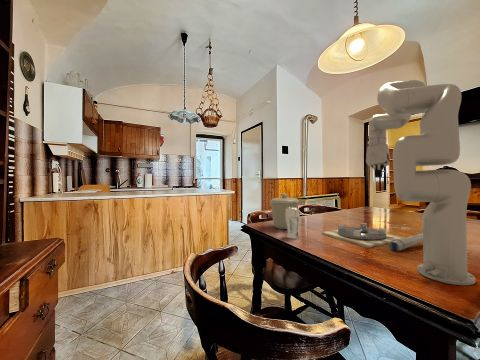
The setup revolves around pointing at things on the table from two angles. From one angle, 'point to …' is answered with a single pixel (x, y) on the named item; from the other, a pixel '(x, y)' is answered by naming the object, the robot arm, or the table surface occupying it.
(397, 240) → the grey flashlight
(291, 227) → the beer glass
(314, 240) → the table surface
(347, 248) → the table surface
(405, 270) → the table surface
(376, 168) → the robot arm
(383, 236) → the ring nut
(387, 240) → the nut board
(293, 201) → the canister
